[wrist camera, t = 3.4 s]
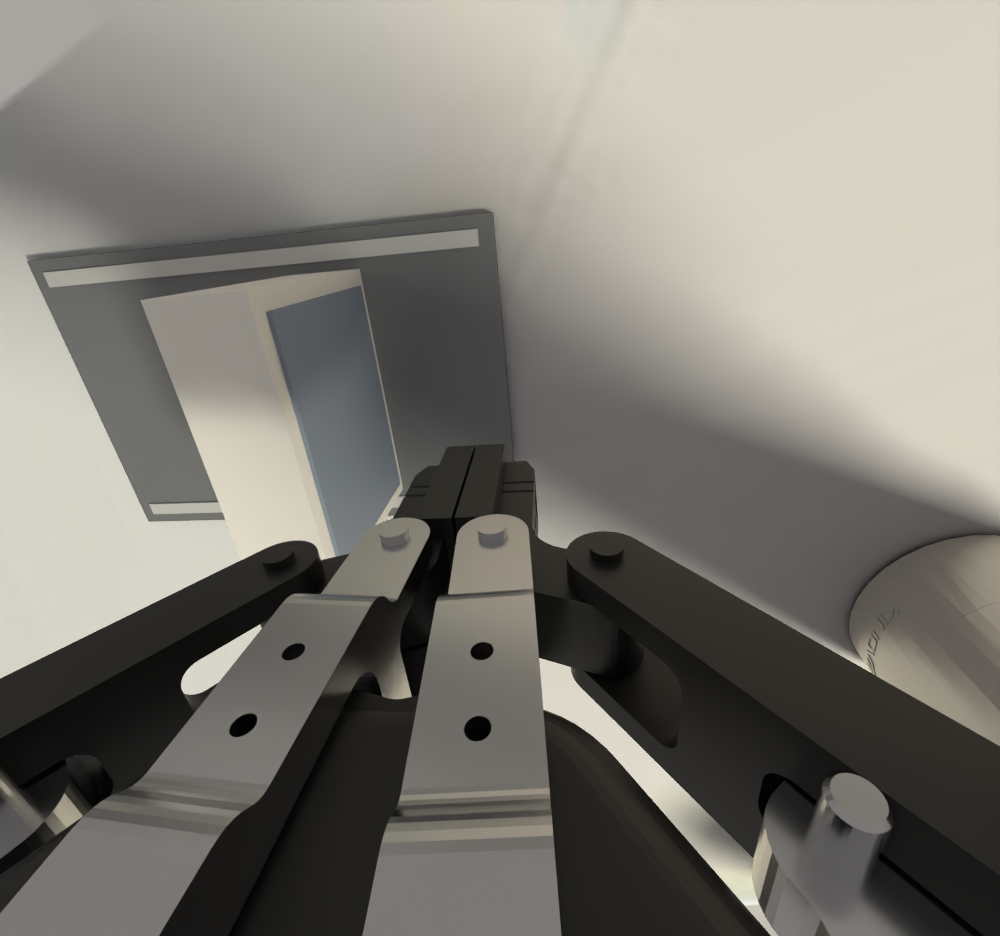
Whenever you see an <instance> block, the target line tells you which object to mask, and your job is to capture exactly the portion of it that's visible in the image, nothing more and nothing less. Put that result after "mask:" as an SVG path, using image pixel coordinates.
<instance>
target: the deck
mask: <svg viewBox="0 0 1000 936" xmlns="http://www.w3.org/2000/svg"><path fill="white" fill-rule="evenodd" d="M140 301H141V303H142V306H143V308H144V311H145V314H146V316H147V319H148V321H149V324H150V327H151V329H152V332H153V334H154V337H155V339H156V342H157V345H158V347H159V350H160V352H161V355H162V357H163V360H164V363H165V365H166V368H167V370H168V373H169V376H170V378H171V381H172V383H173V386H174V388H175V391H176V394H177V396H178V399H179V401H180V404H181V407H182V409H183V412H184V414H185V417H186V419H187V422H188V425H189V427H190V430H191V432H192V435H193V438H194V440H195V443H196V445H197V448H198V450H199V453H200V456H201V458H202V461H203V463H204V466H205V468H206V471H207V474H208V476H209V479H210V481H211V484H212V487H213V489H214V492H215V494H216V497H217V499H218V502H219V505H220V507H221V510H222V512H223V515H224V518H225V520H226V523H227V525H228V528H229V530H230V533H231V536H232V538H233V541H234V543H235V546H236V548H237V551H238V554H239V556H240V559H241V560H243V559H245V558H247V557H249V556H251V555H253V554H255V553H257V552H259V551H261V550H263V549H265V548H268V547H270V546H273V545H275V544H279V543H282V542H287V541H295V540H301V541H307V542H311V543H312V544H314V545H315V546H316V547H317V549H318V553H319V556H320V559H321V560H323V559H328V558H332V557H337V556H341V555H345V554H349V553H350V552H351V551H352V550H353V548H354V547H355V545H356V544H357V543H358V541H359V540H360V538H361V537H362V536H363V535H364V533H365V532H366V531H368V530H369V529H370V528H372V527H373V526H375V525H377V524H379V523H382V522H384V520H385V519H386V517H387V515H388V514H389V512H390V510H391V508H392V507H393V505H394V503H395V502H396V500H397V498H398V497H399V495H400V493H401V491H402V490H403V486H402V481H401V476H400V471H399V465H398V460H397V455H396V450H395V445H394V440H393V435H392V430H391V425H390V420H389V415H388V410H387V405H386V400H385V395H384V390H383V385H382V379H381V374H380V369H379V364H378V359H377V354H376V349H375V344H374V339H373V334H372V329H371V324H370V319H369V314H368V309H367V304H366V299H365V293H364V288H363V283H362V278H361V273H360V269H350V270H340V271H329V272H318V273H308V274H297V275H288V276H282V277H276V278H270V279H264V280H258V281H252V282H246V283H240V284H234V285H228V286H222V287H216V288H210V289H204V290H198V291H192V292H186V293H180V294H174V295H168V296H163V297H157V298H151V299H145V300H140Z"/></svg>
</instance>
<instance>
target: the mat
mask: <svg viewBox="0 0 1000 936" xmlns="http://www.w3.org/2000/svg"><path fill="white" fill-rule="evenodd" d="M27 262H28V264H29V266H30V269H31V271H32V273H33V275H34V277H35V279H36V281H37V284H38V286H39V288H40V290H41V292H42V294H43V296H44V299H45V301H46V303H47V305H48V307H49V309H50V311H51V314H52V316H53V318H54V320H55V322H56V324H57V326H58V329H59V331H60V333H61V335H62V337H63V339H64V341H65V344H66V346H67V348H68V350H69V352H70V354H71V356H72V358H73V361H74V363H75V365H76V367H77V369H78V371H79V373H80V376H81V378H82V380H83V382H84V384H85V386H86V388H87V391H88V393H89V395H90V397H91V399H92V401H93V403H94V406H95V408H96V410H97V412H98V414H99V416H100V418H101V421H102V423H103V425H104V427H105V429H106V431H107V433H108V435H109V438H110V440H111V442H112V444H113V446H114V448H115V450H116V453H117V455H118V457H119V459H120V461H121V463H122V465H123V468H124V470H125V472H126V474H127V476H128V478H129V480H130V483H131V485H132V487H133V489H134V491H135V493H136V495H137V498H138V500H139V502H140V504H141V506H142V508H143V510H144V513H145V515H146V517H147V519H148V521H189V520H225V518H224V515H223V512H222V510H221V507H220V505H219V502H218V499H217V497H216V494H215V492H214V489H213V487H212V484H211V481H210V479H209V476H208V474H207V471H206V468H205V466H204V463H203V461H202V458H201V456H200V453H199V450H198V448H197V445H196V443H195V440H194V438H193V435H192V432H191V430H190V427H189V425H188V422H187V419H186V417H185V414H184V412H183V409H182V407H181V404H180V401H179V399H178V396H177V394H176V391H175V388H174V386H173V383H172V381H171V378H170V376H169V373H168V370H167V368H166V365H165V363H164V360H163V357H162V355H161V352H160V350H159V347H158V345H157V342H156V339H155V337H154V334H153V332H152V329H151V327H150V324H149V321H148V319H147V316H146V314H145V311H144V308H143V306H142V303H141V301H140V300H145V299H151V298H157V297H163V296H168V295H174V294H180V293H186V292H192V291H198V290H204V289H210V288H216V287H222V286H228V285H234V284H240V283H246V282H252V281H258V280H264V279H270V278H276V277H282V276H288V275H297V274H308V273H318V272H329V271H340V270H350V269H360V273H361V278H362V283H363V288H364V293H365V299H366V304H367V309H368V314H369V319H370V324H371V329H372V334H373V339H374V344H375V349H376V354H377V359H378V364H379V369H380V374H381V379H382V385H383V390H384V395H385V400H386V405H387V410H388V415H389V420H390V425H391V430H392V435H393V440H394V445H395V450H396V455H397V460H398V465H399V471H400V476H401V481H402V486H403V490H402V491H401V493H400V495H399V497H398V498H397V500H396V502H395V503H394V505H393V507H392V508H391V510H390V512H389V514H388V515H387V516H390V515H395V514H396V512H397V510H398V508H399V506H400V504H401V502H402V500H403V498H404V497H405V494H406V492H407V491H408V489H409V488H410V485H411V483H412V481H413V479H414V477H415V476H416V475H417V474H418V473H419V472H421V471H422V470H423V469H425V468H426V467H427V466H439V464H440V462H441V459H442V457H443V455H444V453H445V450H446V448H447V447H453V446H471V445H476V447H477V445H489V444H506V446H507V452H508V462H514V455H513V443H512V431H511V419H510V407H509V395H508V384H507V372H506V360H505V348H504V336H503V324H502V312H501V301H500V289H499V277H498V265H497V253H496V241H495V230H494V218H493V212H489V213H479V214H470V215H460V216H451V217H441V218H432V219H423V220H413V221H404V222H394V223H385V224H375V225H366V226H356V227H347V228H337V229H328V230H318V231H309V232H299V233H290V234H280V235H271V236H261V237H252V238H242V239H233V240H223V241H214V242H204V243H195V244H185V245H176V246H166V247H157V248H147V249H138V250H128V251H119V252H109V253H100V254H90V255H81V256H71V257H62V258H52V259H43V260H33V261H27Z"/></svg>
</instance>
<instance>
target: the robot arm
mask: <svg viewBox="0 0 1000 936" xmlns="http://www.w3.org/2000/svg"><path fill="white" fill-rule="evenodd" d="M259 624H260V625H261V627H262V629H261V630H260V632H259V633H258V634H257V635H256V637H255V638H254V639H253V641H252V642H251V643H250V644H249V646H248V647H247V648H246V649H245V651H244V652H243V653H242V654H241V656H240V657H239V658H238V659H237V661H236V662H235V663H234V664H233V666H232V667H231V668H230V669H229V671H228V672H227V673H226V674H225V676H224V677H223V678H222V679H221V681H220V682H219V683H217V684H216V685H214V686H212V687H211V688H209V689H208V690H206V691H204V692H202V693H199V694H196V695H187V694H184V693H183V692H182V689H181V680H182V677H183V675H184V673H185V672H186V671H187V669H188V668H189V667H190V666H191V665H192V664H194V663H195V662H196V661H198V660H200V659H201V658H203V657H205V656H206V655H208V654H210V653H212V652H213V651H215V650H217V649H218V648H220V647H222V646H223V645H225V644H227V643H229V642H230V641H232V640H234V639H235V638H237V637H239V636H240V635H242V634H244V633H246V632H247V631H249V630H251V629H252V628H254V627H256V626H258V625H259ZM849 631H850V637H851V641H852V643H853V645H854V647H855V649H856V651H857V652H858V654H859V655H860V657H861V658H862V660H863V661H864V662H865V664H866V665H867V667H868V668H869V669H870V671H871V672H872V673H870V672H868V671H867V670H865V669H863V668H861V667H860V666H858V665H856V664H854V663H852V662H851V661H849V660H847V659H845V658H844V657H842V656H840V655H838V654H837V653H835V652H833V651H831V650H830V649H828V648H826V647H824V646H823V645H821V644H819V643H817V642H815V641H814V640H812V639H810V638H808V637H807V636H805V635H803V634H801V633H800V632H798V631H796V630H794V629H793V628H791V627H789V626H787V625H786V624H784V623H782V622H780V621H778V620H777V619H775V618H773V617H771V616H770V615H768V614H766V613H764V612H763V611H761V610H759V609H757V608H756V607H754V606H752V605H750V604H749V603H747V602H745V601H743V600H741V599H740V598H738V597H736V596H734V595H733V594H731V593H729V592H727V591H726V590H724V589H722V588H720V587H719V586H717V585H715V584H713V583H712V582H710V581H708V580H706V579H705V578H703V577H701V576H699V575H697V574H696V573H694V572H692V571H690V570H689V569H687V568H685V567H683V566H682V565H680V564H678V563H676V562H675V561H673V560H671V559H669V558H668V557H666V556H664V555H662V554H660V553H659V552H657V551H655V550H653V549H652V548H650V547H648V546H646V545H645V544H643V543H641V542H639V541H638V540H636V539H634V538H632V537H630V536H627V535H624V534H621V533H616V532H605V531H603V532H593V533H588V534H585V535H582V536H580V537H578V538H576V539H575V540H574V541H572V542H571V543H570V545H569V546H568V548H567V549H564V548H560V547H555V546H552V545H549V544H547V543H545V542H543V541H542V540H540V539H539V538H538V514H537V499H536V485H535V471H534V469H533V468H532V467H531V466H530V464H529V463H528V462H527V461H519V462H508V452H507V446H506V444H489V445H477V447H476V445H471V446H453V447H447V448H446V450H445V453H444V455H443V457H442V459H441V462H440V464H439V466H427V467H426V468H425V469H423V470H422V471H421V472H419V473H418V474H417V475H416V476H415V477H414V479H413V481H412V483H411V485H410V488H409V489H408V491H407V492H406V494H405V497H404V498H403V500H402V502H401V504H400V506H399V508H398V510H397V512H396V514H395V515H394V517H393V519H391V520H387V521H384V522H382V523H379V524H377V525H375V526H373V527H372V528H370V529H369V530H368V531H366V532H365V533H364V535H363V536H362V537H361V538H360V540H359V541H358V543H357V544H356V545H355V547H354V548H353V550H352V551H351V552H350V553H349V554H345V555H341V556H337V557H332V558H328V559H323V560H321V559H320V556H319V553H318V549H317V547H316V546H315V545H314V544H312V543H311V542H307V541H301V540H295V541H287V542H282V543H279V544H275V545H273V546H270V547H268V548H265V549H263V550H261V551H259V552H257V553H255V554H253V555H251V556H249V557H247V558H245V559H243V560H241V561H239V562H237V563H235V564H233V565H231V566H229V567H227V568H225V569H223V570H221V571H218V572H216V573H214V574H212V575H210V576H208V577H206V578H204V579H202V580H200V581H198V582H196V583H194V584H192V585H190V586H188V587H186V588H184V589H182V590H180V591H178V592H176V593H174V594H172V595H170V596H168V597H166V598H164V599H161V600H159V601H157V602H155V603H153V604H151V605H149V606H147V607H145V608H143V609H141V610H139V611H137V612H135V613H133V614H131V615H129V616H127V617H125V618H123V619H121V620H119V621H117V622H115V623H113V624H111V625H109V626H107V627H104V628H102V629H100V630H98V631H96V632H94V633H92V634H90V635H88V636H86V637H84V638H82V639H80V640H78V641H76V642H74V643H72V644H70V645H68V646H66V647H64V648H62V649H60V650H58V651H56V652H54V653H52V654H50V655H47V656H45V657H43V658H41V659H39V660H37V661H35V662H33V663H31V664H29V665H27V666H25V667H23V668H21V669H19V670H17V671H15V672H13V673H11V674H9V675H7V676H5V677H3V678H1V679H0V936H770V934H769V933H768V932H767V931H766V930H765V929H764V928H763V926H762V925H761V924H760V923H759V922H758V921H757V920H756V918H755V917H754V916H753V915H752V914H751V913H750V912H749V911H748V909H747V908H746V907H745V906H744V905H743V903H742V902H741V901H740V900H739V899H738V898H737V897H736V895H735V894H734V893H733V892H732V891H731V890H730V889H729V887H728V886H727V885H726V884H725V883H724V882H723V881H722V879H721V878H720V877H719V876H718V875H717V874H716V873H715V871H714V870H713V869H712V868H711V867H710V866H709V865H708V863H707V862H706V861H705V860H704V859H703V858H702V857H701V855H700V854H699V853H698V852H697V851H696V850H695V849H694V847H693V846H692V845H691V844H690V843H689V842H688V841H687V839H686V838H685V837H684V836H683V835H682V834H681V833H680V831H679V830H678V829H677V828H676V827H675V826H674V825H673V823H672V822H671V821H670V820H669V819H668V818H667V817H666V815H665V814H664V813H663V812H662V811H661V810H660V809H659V807H658V806H657V805H656V804H655V803H654V802H653V801H652V799H651V798H650V797H649V796H648V795H647V794H646V793H645V791H644V790H643V789H642V788H641V787H640V786H639V785H638V783H637V782H636V781H635V780H634V779H633V778H632V777H631V775H630V774H629V773H628V772H627V771H626V770H625V769H624V767H623V766H622V765H621V764H620V763H619V762H618V761H617V759H616V758H615V757H614V756H613V755H612V754H611V753H610V752H609V751H608V750H607V749H606V748H605V747H604V746H603V745H602V744H601V743H600V742H598V741H597V740H596V739H595V738H594V737H593V736H591V735H590V734H589V733H587V732H586V731H584V730H583V729H581V728H580V727H579V726H577V725H576V724H574V723H572V722H570V721H568V720H566V719H565V718H563V717H561V716H558V715H556V714H553V713H551V712H548V711H546V710H543V701H542V689H541V677H540V664H539V658H542V659H545V660H549V661H552V662H556V663H559V664H563V665H566V666H570V667H571V672H572V675H573V677H574V679H575V681H576V682H577V683H578V685H579V686H580V687H581V688H582V689H583V690H584V691H585V692H586V693H587V694H588V695H589V696H590V697H591V698H592V699H593V700H594V701H595V702H596V703H597V704H598V705H599V706H600V707H601V708H602V709H603V710H604V711H605V712H606V713H607V714H608V715H609V716H610V717H611V718H612V719H613V720H615V721H616V722H617V723H618V724H619V725H620V726H621V727H622V728H623V729H624V730H625V731H626V732H627V733H628V734H629V735H630V736H631V737H632V738H633V739H634V740H635V741H636V742H637V743H638V744H639V745H640V746H641V747H642V748H643V749H644V750H645V751H646V752H647V753H648V754H649V755H650V756H651V757H652V758H653V759H654V760H655V761H656V762H657V763H658V764H659V765H660V766H661V767H662V768H663V769H664V770H665V771H666V772H667V773H668V774H669V775H670V776H671V777H672V778H673V779H674V780H675V781H676V782H677V783H678V784H679V785H680V786H681V787H682V788H683V789H684V790H685V791H686V792H687V793H688V794H689V795H690V796H691V797H692V798H693V799H694V800H695V801H696V802H697V803H698V804H699V805H700V806H701V807H702V808H703V809H704V810H705V811H706V812H707V813H708V814H709V815H710V816H712V817H713V818H714V819H715V820H716V821H717V822H718V823H719V824H720V825H721V826H722V827H723V828H724V829H725V830H726V831H727V832H728V833H729V834H730V835H731V836H732V837H733V838H734V839H735V840H736V841H737V842H738V843H739V844H740V845H741V846H742V847H743V848H744V849H745V850H746V851H747V852H748V853H749V854H750V855H751V856H752V857H753V864H752V879H753V884H754V890H755V893H756V896H757V899H758V902H759V904H760V906H761V908H762V910H763V913H764V915H765V917H766V918H767V920H768V921H769V923H770V925H771V926H772V928H773V929H774V931H775V932H776V933H777V934H778V936H1000V536H999V535H971V536H965V537H959V538H952V539H947V540H944V541H941V542H937V543H934V544H931V545H928V546H924V547H922V548H920V549H918V550H916V551H914V552H911V553H909V554H907V555H905V556H903V557H901V558H900V559H898V560H897V561H895V562H894V563H892V564H891V565H889V566H888V567H886V568H885V569H883V570H882V571H881V572H880V573H879V574H878V575H877V576H876V577H874V578H873V579H872V580H871V581H870V582H869V583H868V584H867V586H866V587H865V588H864V590H863V591H862V592H861V594H860V595H859V596H858V598H857V600H856V602H855V604H854V607H853V609H852V611H851V615H850V622H849Z"/></svg>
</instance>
